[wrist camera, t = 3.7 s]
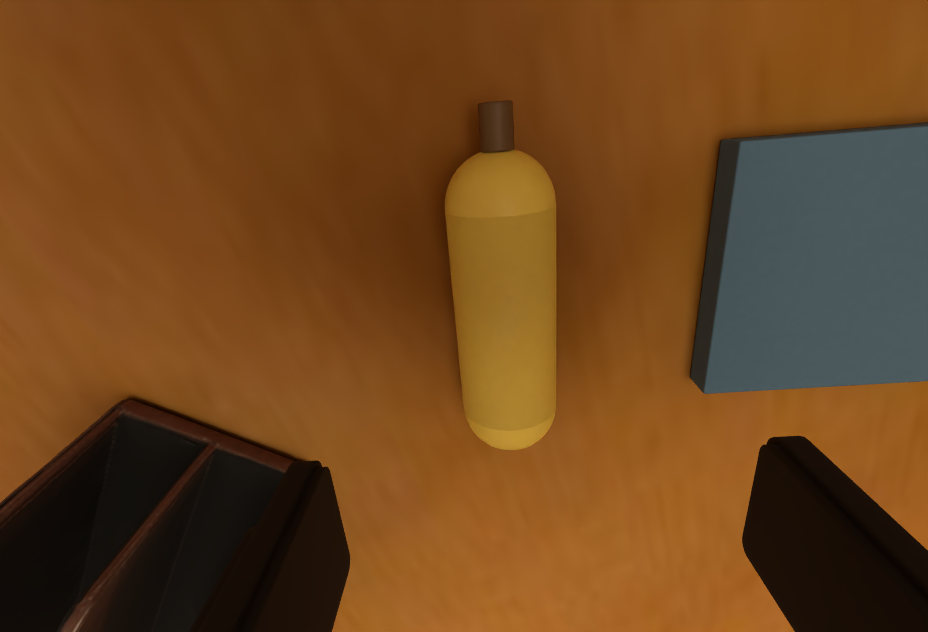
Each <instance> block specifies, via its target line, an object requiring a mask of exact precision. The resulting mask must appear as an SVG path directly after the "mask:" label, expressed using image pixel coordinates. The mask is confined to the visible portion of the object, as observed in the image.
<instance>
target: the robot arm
mask: <svg viewBox="0 0 928 632" xmlns="http://www.w3.org/2000/svg"><path fill="white" fill-rule="evenodd" d="M742 543H743V548H744V551H745V553H746V555H747V557H748V559H749V561H750V562H751V564H752V565H753V567H754V568H755V570H756V572H757V573H758V575H759V576H760V578H761V579H762V581H763V582H764V584H765V586H766V587H767V589H768V590H769V592H770V593H771V595H772V597H773V598H774V600H775V601H776V603H777V604H778V606H779V608H780V609H781V611H782V612H783V614H784V615H785V617H786V618H787V620H788V622H789V623H790V625H791V626H792V628H793V629H794V631H795V632H928V551H927V550H926V549H925V548H924V547H923V546H922V545H921V544H920V543H919V542H918V541H917V540H916V539H915V538H913V537H912V536H911V535H910V534H909V533H908V532H907V531H906V530H905V529H904V528H903V527H902V526H901V525H899V524H898V523H897V522H896V521H895V520H894V519H893V518H892V517H891V516H890V515H889V514H888V513H887V512H885V511H884V510H883V509H882V508H881V507H880V506H879V505H878V504H877V503H876V502H875V501H874V500H873V499H871V498H870V497H869V496H868V495H867V494H866V493H865V492H864V491H863V490H862V489H861V488H860V487H859V486H857V485H856V484H855V483H854V482H853V481H852V480H851V479H850V478H849V477H848V476H847V475H846V474H845V473H843V472H842V471H841V470H840V469H839V468H838V467H837V466H836V465H835V464H834V463H833V462H832V461H831V460H829V459H828V458H827V457H826V456H825V455H824V454H823V453H822V452H821V451H820V450H819V449H818V448H816V447H815V446H814V445H813V444H812V443H811V442H810V441H809V440H808V439H806V438H805V437H802V436H787V437H773V438H770V439H769V440H768V442H767V445H762V447H761V448H760V451H759V456H758V461H757V466H756V471H755V476H754V481H753V486H752V491H751V496H750V501H749V506H748V511H747V516H746V521H745V526H744V531H743V537H742ZM349 567H350V554H349V549H348V545H347V541H346V537H345V533H344V528H343V524H342V520H341V516H340V511H339V507H338V503H337V499H336V495H335V490H334V486H333V482H332V478H331V474H330V470H329V468H328V467H322V465H321V463H320V462H319V461H299V462H292V463H291V464H290V465H289V467H288V469H287V470H286V472H285V474H284V476H283V478H282V480H281V481H280V483H279V485H278V487H277V489H276V490H275V492H274V494H273V496H272V498H271V499H270V501H269V503H268V505H267V507H266V508H265V510H264V512H263V514H262V516H261V518H260V519H259V521H258V523H257V525H256V527H252V528H250V529H249V530H248V531H247V532H246V533H245V535H244V536H243V538H242V539H241V541H240V543H239V545H238V546H237V548H236V550H235V552H234V553H233V555H232V557H231V559H230V560H229V562H228V564H227V566H226V567H225V569H224V571H223V573H222V574H221V576H220V578H219V580H218V582H217V583H216V585H215V587H214V589H213V590H212V592H211V594H210V596H209V597H208V599H207V601H206V603H205V604H204V606H203V608H202V610H201V611H200V613H199V615H198V617H197V618H196V620H195V622H194V624H193V625H192V627H191V629H190V631H189V632H332V629H333V625H334V622H335V618H336V615H337V611H338V608H339V604H340V601H341V597H342V594H343V590H344V587H345V583H346V580H347V576H348V572H349Z"/></svg>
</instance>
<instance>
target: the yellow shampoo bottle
mask: <svg viewBox="0 0 928 632" xmlns="http://www.w3.org/2000/svg"><path fill="white" fill-rule="evenodd" d="M478 115H479V132H480V148H481V152H479V153H477V154H475V155H473V156H472V157H470V158H469V159H467V160H466V161H465V162H464V163H463V164H462V165H461V166H460V167H459V168H458V169H457V171H456V172H455V174H454V175H453V177H452V178H451V180H450V183H449V185H448V188H447V192H446V197H445V217H446V228H447V238H448V249H449V259H450V270H451V280H452V291H453V302H454V312H455V323H456V333H457V344H458V354H459V365H460V375H461V386H462V396H463V407H464V412H465V417H466V419H467V421H468V423H469V425H470V427H471V429H472V430H473V432H474V433H475V434H476V435H477V436H478V437H479V438H480V439H481V440H483V441H484V442H485V443H487V444H489V445H490V446H493V447H495V448H499V449H504V450H517V449H523V448H526V447H529V446H531V445H533V444H534V443H536V442H537V441H539V440H540V439H541V438H542V437H543V436H544V435H545V434H546V433H547V431H548V430H549V428H550V427H551V425H552V422H553V420H554V417H555V413H556V197H555V191H554V188H553V184H552V181H551V179H550V178H549V176H548V174H547V172H546V170H545V169H544V168H543V167H542V166H541V165H540V163H539V162H538V161H536V160H535V159H534V158H532V157H531V156H530V155H528V154H526V153H523V152H521V151H519V150H515V149H514V128H513V102H512V101H510V100H508V101H494V102H485V103H479V104H478Z"/></svg>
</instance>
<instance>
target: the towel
mask: <svg viewBox="0 0 928 632" xmlns="http://www.w3.org/2000/svg"><path fill="white" fill-rule="evenodd" d="M690 378H691V379H692V380H693V381H694V383H695V384H696V385H697V386H698V387H699V389H700V390H701V391H702V392H703V393H704V394H709V393H726V392H744V391H761V390H779V389H796V388H813V387H831V386H848V385H866V384H883V383H900V382H918V381H928V123H916V124H904V125H892V126H880V127H868V128H856V129H844V130H832V131H819V132H807V133H795V134H783V135H771V136H759V137H747V138H735V139H723V140H721V145H720V153H719V160H718V168H717V176H716V183H715V191H714V199H713V206H712V214H711V222H710V229H709V237H708V245H707V253H706V260H705V268H704V276H703V283H702V291H701V299H700V306H699V314H698V322H697V329H696V337H695V345H694V352H693V360H692V368H691V375H690Z"/></svg>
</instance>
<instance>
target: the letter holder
mask: <svg viewBox="0 0 928 632" xmlns="http://www.w3.org/2000/svg"><path fill="white" fill-rule="evenodd" d="M292 462H296V461H294V460H291V459H288V458H285V457H282V456H280V455H277V454H275V453H272V452H269V451H267V450H264V449H262V448H259V447H256V446H254V445H251V444H249V443H246V442H243V441H241V440H238V439H235V438H232V437H230V436H227V435H225V434H222V433H219V432H217V431H214V430H212V429H209V428H206V427H203V426H201V425H198V424H196V423H193V422H191V421H188V420H185V419H182V418H180V417H177V416H175V415H173V414H170V413H167V412H164V411H161V410H158V409H156V408H153V407H150V406H148V405H145V404H142V403H140V402H138V401H135V400H130V399H127V400H122V401H120V402H119V403H117V404H116V405H114V406H113V407H112V408H110V409H109V410H108V411H107V412H106V413H105V414H104V415H102V416H101V417H100V418H99V419H98V420H97V421H96V422H95V423H94V424H92V425H91V426H90V427H89V428H88V429H87V430H86V431H84V432H83V433H82V434H81V435H80V436H79V437H77V438H76V439H75V440H74V441H73V442H71V443H70V444H69V445H68V446H67V447H66V448H64V449H63V450H62V451H61V452H60V453H59V454H58V455H56V456H55V457H54V458H53V459H52V460H51V461H50V462H49V463H47V464H46V465H45V466H44V467H43V468H41V469H40V470H39V471H38V472H36V473H35V474H34V475H33V476H32V477H31V478H29V479H28V480H27V481H25V482H24V483H23V484H22V485H21V486H19V487H18V488H17V489H16V490H15V491H13V492H12V493H11V494H10V495H9V496H7V497H6V498H5V499H4V500H3V501H2V502H1V503H0V632H189V631H190V629H191V627H192V625H193V624H194V622H195V620H196V618H197V617H198V615H199V613H200V611H201V610H202V608H203V606H204V604H205V603H206V601H207V599H208V597H209V596H210V594H211V592H212V590H213V589H214V587H215V585H216V583H217V582H218V580H219V578H220V576H221V574H222V573H223V571H224V569H225V567H226V566H227V564H228V562H229V560H230V559H231V557H232V555H233V553H234V552H235V550H236V548H237V546H238V545H239V543H240V541H241V539H242V538H243V536H244V535H245V533H246V532H247V531H248V530H249V529H250V528H252V527H256V525H257V523H258V521H259V519H260V518H261V516H262V514H263V512H264V510H265V508H266V507H267V505H268V503H269V501H270V499H271V498H272V496H273V494H274V492H275V490H276V489H277V487H278V485H279V483H280V481H281V480H282V478H283V476H284V474H285V472H286V470H287V469H288V467H289V465H290V464H291V463H292Z"/></svg>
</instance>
